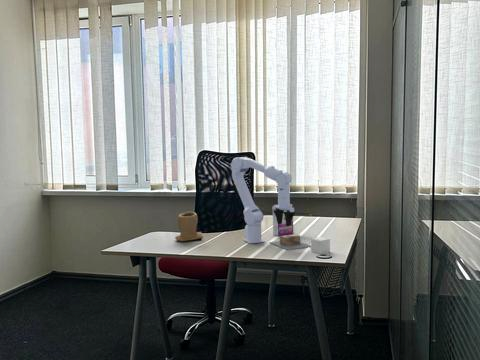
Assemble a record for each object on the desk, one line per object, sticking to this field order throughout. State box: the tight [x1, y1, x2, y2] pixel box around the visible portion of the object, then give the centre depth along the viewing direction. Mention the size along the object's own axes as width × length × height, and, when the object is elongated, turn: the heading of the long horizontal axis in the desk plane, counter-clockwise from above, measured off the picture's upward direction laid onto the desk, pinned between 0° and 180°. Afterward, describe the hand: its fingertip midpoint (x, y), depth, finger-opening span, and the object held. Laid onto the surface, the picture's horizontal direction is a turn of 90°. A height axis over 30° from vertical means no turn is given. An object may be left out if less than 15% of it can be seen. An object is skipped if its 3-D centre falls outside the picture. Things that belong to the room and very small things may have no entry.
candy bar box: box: [271, 203, 294, 237], centre depth 250 cm, size 11×5×16 cm, turn 126°
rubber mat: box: [269, 240, 311, 251], centre depth 223 cm, size 18×14×1 cm
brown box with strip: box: [279, 233, 301, 246], centre depth 223 cm, size 9×4×4 cm, turn 119°
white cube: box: [310, 236, 331, 255], centre depth 207 cm, size 6×6×6 cm
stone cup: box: [175, 211, 204, 242], centre depth 240 cm, size 15×12×15 cm
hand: (284, 224), depth 223 cm, fingers open, 7 cm apart
